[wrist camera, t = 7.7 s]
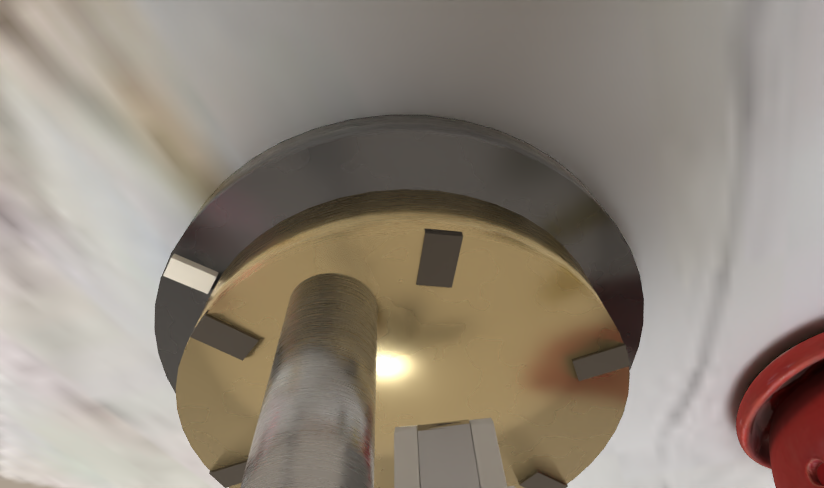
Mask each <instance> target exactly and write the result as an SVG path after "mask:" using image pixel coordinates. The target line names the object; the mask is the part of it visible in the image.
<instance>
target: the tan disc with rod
mask: <svg viewBox="0 0 824 488" xmlns="http://www.w3.org/2000/svg"><path fill="white" fill-rule="evenodd" d="M629 366H630V362H629V358H628V353H627V349H626V345H625V343H624V341H623V340H622V338H621V335H620V333H619V331H618V329H617V327H616V326H615V324H614V322H613V321H612V319H611V317H610V315H609V314H608V312H607V310H606V309H605V307H604V305H603V303H602V302H601V300H600V298H599V297H598V295H597V293H596V291H595V290H594V288H593V286H592V285H591V283H590V281H589V280H588V278H587V276H586V274H585V273H584V271H583V269H582V268H581V266H580V264H579V263H578V262H577V261H576V260H575V258H574V257H573V256H572V255H571V254H570V252H569V251H568V250H567V249H566V248H565V247H564V246H563V245H562V244H561V243H560V242H559V241H557V240H556V239H555V238H554V237H553V236H552V235H550V234H549V233H548V232H547V231H546V230H544V229H543V228H541V227H539V226H538V225H536V224H535V223H533V222H531V221H530V220H528V219H527V218H525V217H523V216H521V215H519V214H517V213H515V212H512V211H510V210H508V209H506V208H503V207H501V206H499V205H497V204H493V203H490V202H487V201H483V200H480V199H477V198H473V197H470V196H466V195H460V194H454V193H448V192H441V191H434V190H411V189H399V190H386V191H373V192H367V193H362V194H357V195H351V196H346V197H341V198H337V199H334V200H331V201H328V202H325V203H322V204H319V205H316V206H313V207H310V208H308V209H306V210H304V211H301V212H299V213H297V214H295V215H293V216H291V217H289V218H287V219H285V220H283V221H281V222H279V223H278V224H276V225H275V226H273V227H272V228H270V229H269V230H267V231H266V232H264V233H263V234H261V235H260V236H258V237H257V238H256V239H255V240H254V241H253V242H251V243H250V244H249V245H248V246H247V247H246V248H245V249H244V250H242V251H241V252H240V253H239V254H238V255H237V256H236V258H235V259H234V260H233V261H232V262H231V264H230V265H229V266H228V267H227V269H226V270H225V271H224V272H223V274H222V275H221V277H220V279H219V281H218V282H217V284H216V286H215V288H214V289H213V291H212V293H211V295H210V297H209V299H208V301H207V303H206V305H205V307H204V309H203V311H202V313H201V316H200V318H199V320H198V322H197V324H196V326H195V328H194V330H193V331H192V333H191V335H190V338H189V340H188V342H187V345H186V347H185V350H184V353H183V356H182V358H181V361H180V364H179V367H178V374H177V382H176V400H177V410H178V414H179V418H180V421H181V425H182V428H183V431H184V433H185V435H186V437H187V439H188V441H189V443H190V445H191V447H192V448H193V450H194V451H195V452H196V454H197V455H198V457H199V458H200V459H201V461H202V462H203V464H204V465H205V466H206V467H207V468H208V469H209V470H210V473H209V474H210V475H212V476H213V477H214V478H215V479H216V480H217V481H218V482H219V483H220V484H222V485H223V486H224V487H225V488H226V487H229V488H394V431H395V427H401V426H411V425H417V426H418V425H425V424H433V423H442V422H450V421H459V420H468V419H469V420H474V419H483V418H491V419H492V420H493V422H494V427H495V431H496V436H497V441H498V445H499V450H500V455H501V459H502V464H503V469H504V473H505V478H506V483H507V486H515V487H516V488H566V487H568V486H567V483H569V482H570V481H571V480H573V479H574V478H575V477H577V476H578V475H579V474H580V473H581V472H582V471H583V470H584V469H585V468H586V467H588V466H589V465H590V464H591V463H592V462H593V460H594V459H595V458H596V457H597V456H598V455H599V453H600V452H601V451H602V450H603V449H604V447H605V446H606V444H607V443H608V441H609V440H610V438H611V437H612V435H613V434H614V432H615V430H616V428H617V426H618V424H619V421H620V419H621V417H622V415H623V412H624V408H625V405H626V401H627V397H628V390H629V375H630V373H629Z"/></svg>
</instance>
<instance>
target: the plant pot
mask: <svg viewBox="0 0 824 488" xmlns="http://www.w3.org/2000/svg"><path fill="white" fill-rule="evenodd" d="M736 430H737V436H738V439H739V442H740V445H741V447H742V448H743V450H744V451H745V453H746V454H747V455H748V456H749V457H750V458H751V459H753V460H754V461H755V462H757V463H759V464H760V465H762V466H765V467H768V468H770V469H772V474H773V478H774V482H775V486H776V488H824V332H823V333H820V334H818V335H816V336H814V337H811V338H809V339H807V340H805V341H803V342H801V343H799V344H798V345H796V346H794V347H792V348H791V349H789V350H787V351H786V352H784V353H783V354H781V355H780V356H779V357H777V358H776V359H775V360H773V361H772V362H771V363H770V364H769V365H768V366H767V367H766V368H765V369H764V370H762V371H761V372H760V373H759V375H758V376H757V377H756V378H755V379H754V381H753V382H752V383H751V384H750V386H749V388H748V389H747V391H746V393H745V394H744V396H743V399H742V401H741V403H740V406H739V409H738V414H737V418H736Z"/></svg>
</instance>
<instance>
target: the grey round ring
mask: <svg viewBox="0 0 824 488" xmlns="http://www.w3.org/2000/svg"><path fill="white" fill-rule="evenodd" d="M399 189H411V190H434V191H441V192H448V193H454V194H460V195H466V196H470V197H473V198H477V199H480V200H483V201H487V202H490V203H493V204H497V205H499V206H501V207H503V208H506V209H508V210H510V211H512V212H515V213H517V214H519V215H521V216H523V217H525V218H527V219H528V220H530V221H531V222H533V223H535V224H536V225H538V226H539V227H541V228H543V229H544V230H546V231H547V232H548V233H549V234H550V235H552V236H553V237H554V238H555V239H556V240H557V241H559V242H560V243H561V244H562V245H563V246H564V247H565V248H566V249H567V250H568V251H569V252H570V254H571V255H572V256H573V257H574V258H575V260H576V261H577V262H578V263H579V264H580V266H581V268H582V269H583V271H584V273H585V274H586V276H587V278H588V280H589V281H590V283H591V285H592V286H593V288H594V290H595V291H596V293H597V295H598V297H599V298H600V300H601V302H602V303H603V305H604V307H605V309H606V310H607V312H608V314H609V315H610V317H611V319H612V321H613V322H614V324H615V326H616V327H617V329H618V331H619V333H620V335H621V338H622V340H623V341H624V343H625V345H626V349H627V353H628V358H629V362H630V366H629V370H630V368H631V366H632V363H633V360H634V358H635V355H636V352H637V350H638V347H639V342H640V337H641V332H642V327H643V308H644V298H643V292H642V286H641V280H640V274H639V272H638V269H637V266H636V263H635V261H634V258H633V255H632V252H631V250H630V248H629V246H628V245H627V243H626V241H625V239H624V238H623V236H622V234H621V233H620V231H619V229H618V227H617V226H616V225H615V223H614V222H613V221H612V219H611V218H610V217H609V216H608V214H607V213H606V212H605V211H604V209H603V208H602V207H601V205H600V204H599V203H598V202H597V201H596V199H595V198H594V197H593V196H592V195H591V193H590V192H589V191H588V190H587V189H586V188H585V186H584V185H583V184H582V183H581V182H580V181H579V180H578V179H577V178H576V177H575V176H574V175H572V174H571V173H570V172H569V171H568V170H567V169H565V168H564V167H563V166H562V165H561V164H560V163H558V162H557V161H556V160H554V159H553V158H551V157H549V156H548V155H546V154H544V153H543V152H541V151H540V150H538V149H536V148H535V147H533V146H532V145H530V144H528V143H526V142H523V141H521V140H519V139H516V138H514V137H512V136H510V135H507V134H505V133H503V132H500V131H498V130H495V129H491V128H488V127H484V126H480V125H477V124H473V123H470V122H466V121H462V120H455V119H448V118H441V117H433V116H426V115H385V116H377V117H368V118H360V119H352V120H347V121H343V122H339V123H335V124H332V125H328V126H324V127H320V128H316V129H313V130H310V131H308V132H305V133H303V134H300V135H298V136H296V137H293V138H291V139H288V140H286V141H283V142H281V143H279V144H277V145H276V146H274V147H272V148H270V149H269V150H267V151H265V152H263V153H262V154H260V155H258V156H257V157H255V158H253V159H251V160H250V161H249V162H247V163H246V164H245V165H244V166H242V167H241V168H240V169H239V170H237V171H236V172H235V173H234V174H232V175H231V176H230V177H229V178H227V179H226V180H225V181H224V182H223V183H222V184H221V185H220V186H219V188H218V189H217V190H216V191H215V192H214V193H213V194H212V195H211V196H210V197H209V198H208V200H207V201H206V202H205V203H204V204H203V206H202V207H201V209H200V210H199V212H198V213H197V215H196V216H195V218H194V219H193V221H192V222H191V224H190V225H189V227H188V228H187V230H186V231H185V233H184V234H183V236H182V237H181V239H180V241H179V242H178V244H177V245H176V247H175V248H174V250H173V251H172V253H171V255H170V258H169V260H168V263H167V265H166V267H165V270H164V272H163V274H162V277H161V280H160V284H159V289H158V294H157V298H156V303H155V335H156V341H157V347H158V353H159V356H160V359H161V362H162V365H163V368H164V371H165V373H166V376H167V378H168V380H169V382H170V384H171V386H172V387H173V389H174V391H175V393H176V382H177V374H178V367H179V364H180V361H181V358H182V356H183V353H184V350H185V347H186V345H187V342H188V340H189V338H190V335H191V333H192V331H193V330H194V328H195V326H196V324H197V322H198V320H199V318H200V316H201V313H202V311H203V309H204V307H205V305H206V303H207V301H208V299H209V297H210V295H211V293H212V291H213V289H214V288H215V286H216V284H217V282H218V281H219V279H220V277H221V275H222V274H223V272H224V271H225V270H226V269H227V267H228V266H229V265H230V264H231V262H232V261H233V260H234V259H235V258H236V256H237V255H238V254H239V253H240V252H241V251H242V250H244V249H245V248H246V247H247V246H248V245H249V244H250V243H251V242H253V241H254V240H255V239H256V238H257V237H258V236H260V235H261V234H263V233H264V232H266V231H267V230H269V229H270V228H272V227H273V226H275V225H276V224H278V223H279V222H281V221H283V220H285V219H287V218H289V217H291V216H293V215H295V214H297V213H299V212H301V211H304V210H306V209H308V208H310V207H313V206H316V205H319V204H322V203H325V202H328V201H331V200H334V199H337V198H341V197H346V196H351V195H357V194H362V193H367V192H373V191H386V190H399Z"/></svg>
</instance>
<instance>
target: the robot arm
mask: <svg viewBox="0 0 824 488" xmlns="http://www.w3.org/2000/svg"><path fill="white" fill-rule="evenodd" d="M394 488H516V487H515V486H507V483H506V478H505V473H504V469H503V464H502V459H501V455H500V450H499V445H498V441H497V436H496V431H495V427H494V422H493V420H492V419H491V418H483V419H474V420H469V419H468V420H459V421H450V422H442V423H433V424H425V425H418V426H417V425H411V426H401V427H395V431H394Z"/></svg>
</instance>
